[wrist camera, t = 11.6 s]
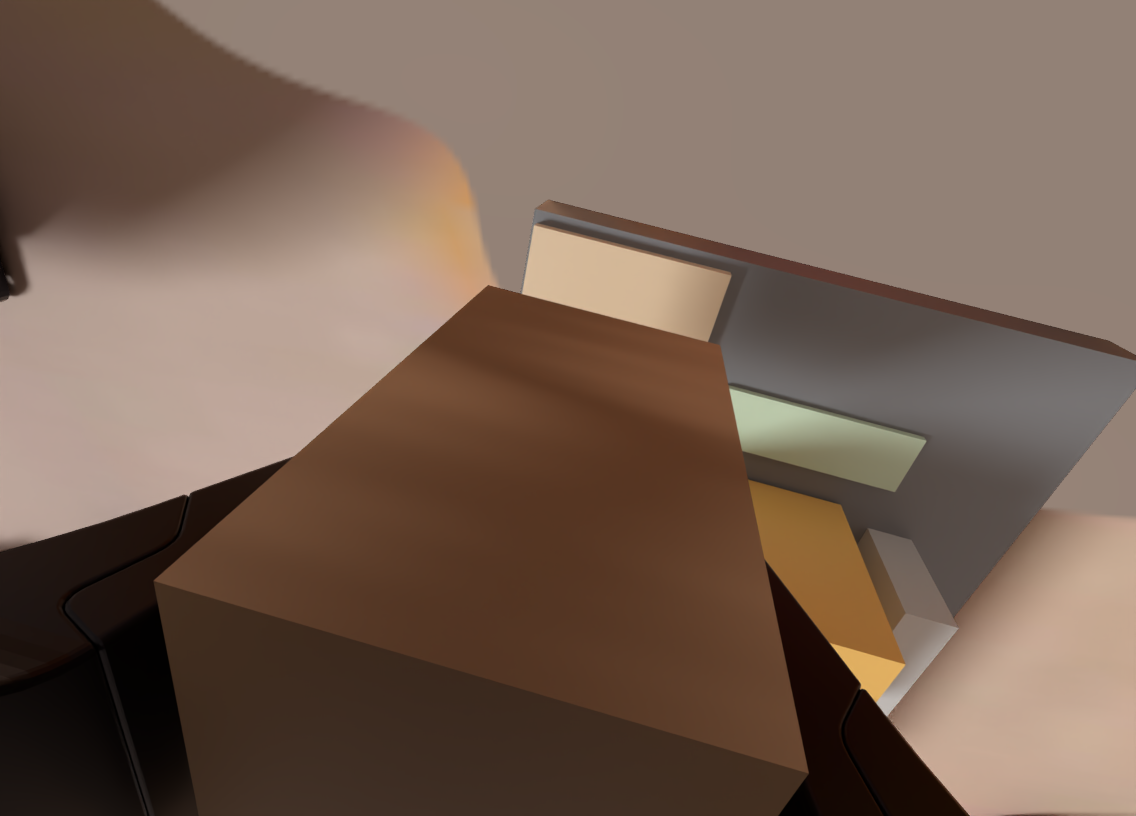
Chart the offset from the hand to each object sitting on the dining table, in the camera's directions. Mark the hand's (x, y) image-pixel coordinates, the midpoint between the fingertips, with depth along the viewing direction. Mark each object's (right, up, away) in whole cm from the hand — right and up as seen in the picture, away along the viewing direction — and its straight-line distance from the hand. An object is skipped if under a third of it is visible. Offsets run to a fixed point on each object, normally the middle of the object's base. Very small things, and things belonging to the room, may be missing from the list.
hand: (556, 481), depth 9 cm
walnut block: (0, +1, +2) cm, 2 cm away
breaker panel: (+4, -4, +10) cm, 12 cm away
